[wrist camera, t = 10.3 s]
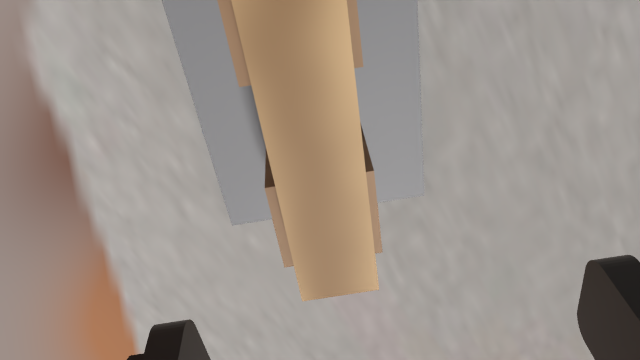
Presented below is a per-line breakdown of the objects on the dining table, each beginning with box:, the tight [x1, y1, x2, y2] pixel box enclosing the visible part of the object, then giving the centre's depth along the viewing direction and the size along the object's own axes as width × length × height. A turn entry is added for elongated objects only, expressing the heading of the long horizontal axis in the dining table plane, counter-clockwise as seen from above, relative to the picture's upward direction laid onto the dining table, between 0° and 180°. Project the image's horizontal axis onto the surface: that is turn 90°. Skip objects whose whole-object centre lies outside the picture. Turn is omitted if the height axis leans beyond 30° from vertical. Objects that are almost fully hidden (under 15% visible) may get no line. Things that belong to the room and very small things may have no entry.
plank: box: [231, 0, 379, 301], centre depth 21 cm, size 4×14×3 cm, turn 8°
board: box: [162, 0, 424, 225], centre depth 27 cm, size 12×18×1 cm, turn 8°
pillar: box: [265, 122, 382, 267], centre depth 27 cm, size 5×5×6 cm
